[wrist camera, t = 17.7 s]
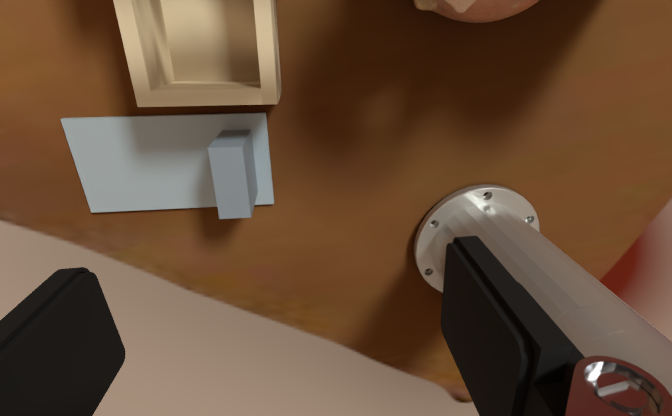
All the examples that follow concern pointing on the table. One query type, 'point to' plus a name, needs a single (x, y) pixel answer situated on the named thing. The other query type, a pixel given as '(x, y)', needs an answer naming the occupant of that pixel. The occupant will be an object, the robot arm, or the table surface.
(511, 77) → the table surface
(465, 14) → the ceramic jug
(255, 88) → the toolbox
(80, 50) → the table surface
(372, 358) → the table surface
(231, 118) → the lid
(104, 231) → the table surface
